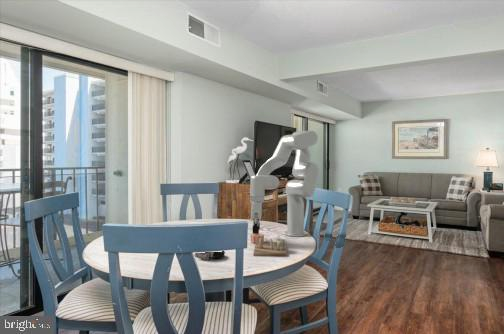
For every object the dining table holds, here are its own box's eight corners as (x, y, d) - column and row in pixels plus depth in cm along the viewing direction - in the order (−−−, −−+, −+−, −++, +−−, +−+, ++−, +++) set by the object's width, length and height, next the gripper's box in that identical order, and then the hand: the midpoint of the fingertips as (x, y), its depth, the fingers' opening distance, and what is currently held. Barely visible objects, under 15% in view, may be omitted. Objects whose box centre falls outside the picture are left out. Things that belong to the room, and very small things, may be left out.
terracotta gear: (251, 240, 184) (251, 233, 184) (264, 240, 183) (264, 233, 183) (250, 243, 177) (250, 236, 177) (263, 244, 177) (263, 236, 176)
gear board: (255, 245, 173) (255, 234, 173) (285, 246, 172) (285, 234, 172) (253, 255, 155) (253, 243, 155) (286, 256, 154) (286, 243, 154)
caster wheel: (225, 261, 155) (217, 264, 146) (202, 254, 159) (193, 256, 149) (228, 246, 156) (220, 249, 146) (206, 240, 159) (197, 241, 150)
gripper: (251, 197, 188) (250, 228, 188) (248, 200, 171) (247, 234, 171) (264, 197, 188) (263, 229, 188) (263, 201, 170) (262, 235, 171)
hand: (256, 231), depth 179 cm, fingers open, 9 cm apart
